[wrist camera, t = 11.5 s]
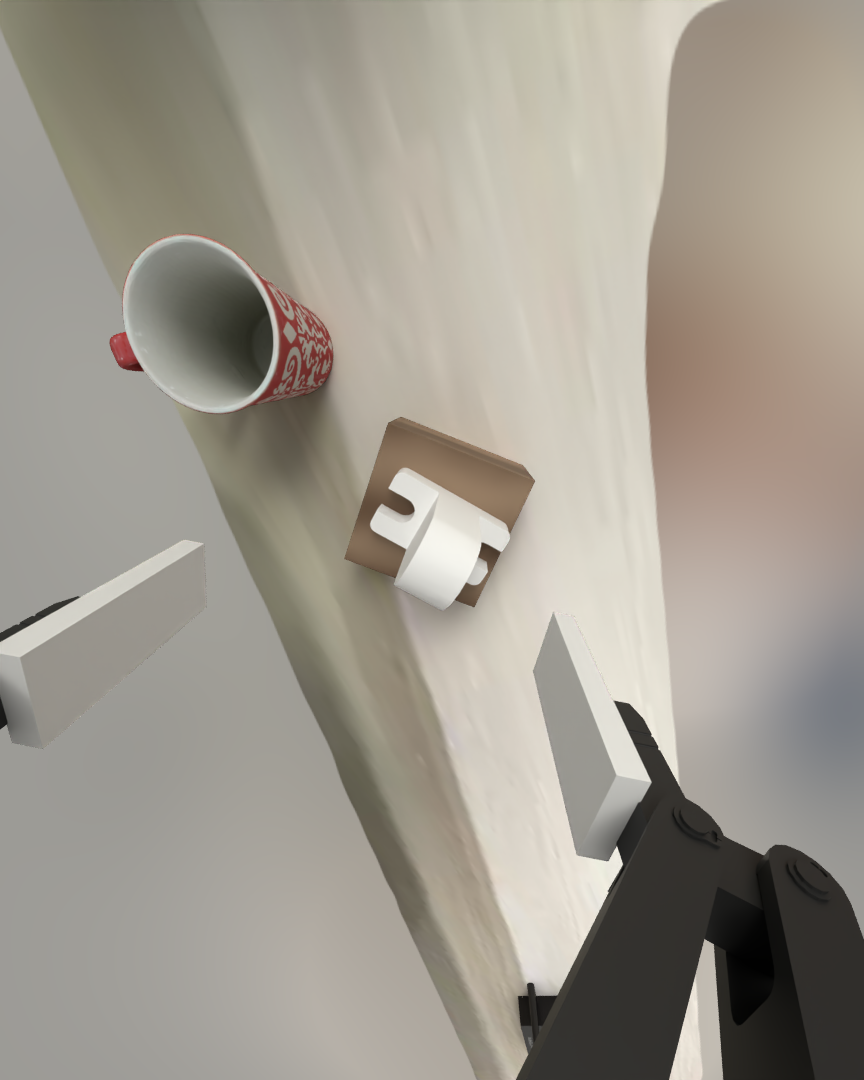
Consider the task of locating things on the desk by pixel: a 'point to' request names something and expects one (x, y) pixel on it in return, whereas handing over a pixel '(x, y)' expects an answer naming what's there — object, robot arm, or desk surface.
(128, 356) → the mug
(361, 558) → the walnut block
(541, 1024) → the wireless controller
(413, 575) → the cable organizer
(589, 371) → the desk surface
